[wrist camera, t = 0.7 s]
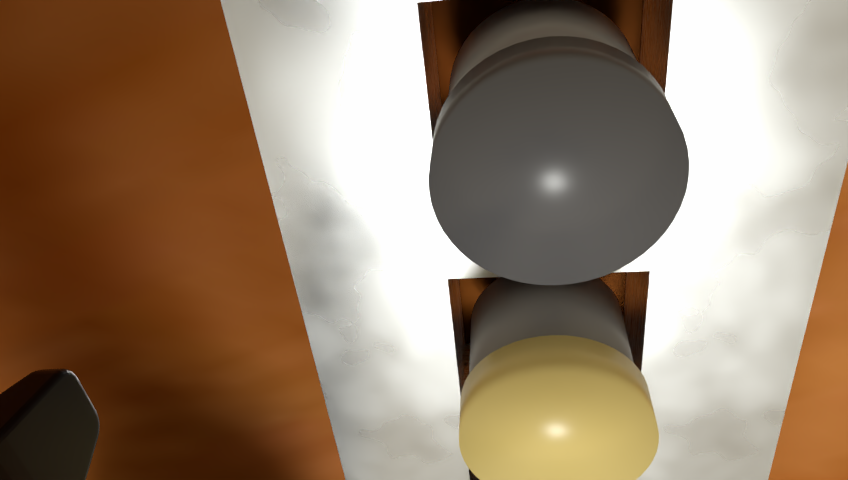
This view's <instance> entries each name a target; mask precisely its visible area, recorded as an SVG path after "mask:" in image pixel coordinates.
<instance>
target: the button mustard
mask: <svg viewBox="0 0 848 480" xmlns="http://www.w3.org/2000/svg"><path fill="white" fill-rule="evenodd" d="M658 444H659V431H658V426H657V422H656V417H655V413H654V409H653V405H652V401H651V397H650V393H649V389H648V385H647V383H646V380H645V378H644V376H643V374H642V373H641V371H640V370H639V368H638V367H637V366H636V365H635V364H634V362H633V358H632V354H631V349H630V345H629V341H628V336H627V332H626V328H625V323H624V319H623V315H622V310H621V306H620V304H619V301H618V299H617V297H616V296H615V294H614V292H613V291H612V290H611V289H610V288H609V287H608V286H607V285H606V284H605V283H604V282H603V281H602V280H600V279H599V278H596V279H592V280H589V281H585V282H579V283H574V284H565V285H536V284H528V283H523V282H518V281H514V280H510V279H507V278H504V277H500V278H498V279H496V280H495V281H494V282H493V283H491V284H490V285H489V286H488V287H487V288H486V289H485V290H484V291H483V292H482V294H481V295H480V296H479V297H478V299H477V301H476V303H475V305H474V308H473V311H472V316H471V333H470V366H469V375H468V377H467V379H466V380H465V383H464V385H463V388H462V392H461V398H460V421H459V447H460V452H461V455H462V457H463V459H464V462H465V463H466V465H467V466H468V468H469V469H470V470H471V471H472V473H473V474H474V475H475V476H476V477H477V478H478V479H480V480H636V479H637V478H639V477H640V476H641V475H642V474H643V473H644V472H645V471H646V469H647V468H648V467H649V466H650V464H651V463H652V461H653V459H654V457H655V455H656V452H657V449H658Z"/></svg>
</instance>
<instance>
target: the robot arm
mask: <svg viewBox="0 0 848 480" xmlns="http://www.w3.org/2000/svg"><path fill="white" fill-rule="evenodd" d="M99 427H100V426H99V418H98V414H97V412H96V410H95V408H94V406H93V405H92V403H91V401H90V399H89V397H88V396H87V394H86V392H85V390H84V388H83V387H82V385H81V383H80V381H79V379H78V378H77V376H76V375H75V374H74V373H73V372H72V371H70V370H67V369H48V370H38V371H35V372H32V373H30V374H29V375H27V376H26V377H24V378H23V379H22V380H20V381H19V382H17V383H16V384H14V385H13V386H11V387H10V388H8V389H7V390H6V391H4V392H3V393H1V394H0V480H86V477H87V473H88V470H89V466H90V463H91V459H92V456H93V453H94V449H95V446H96V442H97V439H98V435H99Z"/></svg>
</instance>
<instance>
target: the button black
mask: <svg viewBox="0 0 848 480" xmlns="http://www.w3.org/2000/svg"><path fill="white" fill-rule="evenodd" d="M688 180H689V154H688V147H687V143H686V140H685V137H684V133H683V131H682V129H681V127H680V125H679V122H678V120H677V118H676V116H675V114H674V112H673V110H672V108H671V106H670V104H669V102H668V100H667V98H666V96H665V94H664V92H663V90H662V88H661V87H660V85H659V84H658V82H657V81H656V80H655V78H654V77H653V76H652V75H651V74H650V73H649V71H648V70H647V69H646V68H645V67H644V66H643V65H641V64H640V63H639V62H638V61H637V60H636V58H635V56H634V53H633V51H632V49H631V47H630V45H629V43H628V41H627V39H626V37H625V36H624V34H623V33H622V32H621V30H620V29H619V28H618V27H617V26H616V25H615V23H614V22H613V21H612V20H611V19H609V18H608V17H607V16H605V15H604V14H603V13H602V12H600V11H598V10H596V9H595V8H593V7H591V6H589V5H586V4H584V3H582V2H579V1H575V0H523V1H519V2H516V3H513V4H511V5H508V6H506V7H504V8H502V9H500V10H498V11H497V12H495V13H493V14H492V15H490V16H489V17H488V18H486V19H485V20H484V21H482V22H481V23H480V24H479V25H478V26H477V27H476V28H475V29H474V30H473V31H472V32H471V34H470V35H469V36H468V38H467V39H466V40H465V41H464V43H463V45H462V47H461V48H460V50H459V52H458V54H457V57H456V59H455V61H454V64H453V68H452V72H451V78H450V86H449V95H448V98H447V99H446V101H445V103H444V104H443V107H442V109H441V112H440V114H439V116H438V119H437V123H436V127H435V130H434V136H433V143H432V151H431V158H430V166H429V175H428V181H429V194H430V199H431V205H432V208H433V210H434V213H435V216H436V219H437V221H438V223H439V224H440V226H441V228H442V230H443V232H444V233H445V234H446V236H447V237H448V239H449V240H450V241H451V243H452V244H453V245H454V246H455V247H456V248H457V249H458V250H459V251H460V252H461V253H462V254H463V255H465V256H466V257H467V258H468V259H470V260H471V261H472V262H474V263H475V264H477V265H479V266H480V267H482V268H483V269H485V270H487V271H490V272H492V273H494V274H496V275H498V276H501V277H504V278H507V279H510V280H514V281H518V282H523V283H528V284H536V285H565V284H574V283H579V282H585V281H589V280H592V279H596V278H599V277H602V276H605V275H607V274H610V273H612V272H614V271H617V270H619V269H621V268H622V267H624V266H626V265H628V264H630V263H631V262H633V261H634V260H636V259H637V258H639V257H640V256H641V255H643V254H644V253H645V252H646V251H648V250H649V249H650V248H651V247H652V246H653V245H654V244H655V243H656V242H657V241H658V240H659V239H660V238H661V237H662V236H663V235H664V233H665V232H666V231H667V229H668V228H669V227H670V225H671V224H672V222H673V221H674V219H675V217H676V215H677V213H678V211H679V209H680V208H681V205H682V202H683V200H684V197H685V194H686V190H687V185H688Z"/></svg>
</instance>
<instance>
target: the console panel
mask: <svg viewBox="0 0 848 480" xmlns="http://www.w3.org/2000/svg"><path fill="white" fill-rule="evenodd" d="M431 1H441V0H221V4H222V8H223V11H224V15H225V19H226V23H227V27H228V31H229V34H230V38H231V42H232V46H233V50H234V54H235V57H236V61H237V65H238V69H239V73H240V77H241V80H242V84H243V88H244V92H245V96H246V100H247V103H248V107H249V111H250V115H251V119H252V123H253V126H254V130H255V134H256V138H257V142H258V146H259V149H260V153H261V157H262V161H263V165H264V169H265V172H266V176H267V180H268V184H269V188H270V192H271V195H272V199H273V203H274V207H275V211H276V215H277V218H278V222H279V226H280V230H281V234H282V238H283V241H284V245H285V249H286V253H287V257H288V261H289V264H290V268H291V272H292V276H293V280H294V284H295V287H296V291H297V295H298V299H299V303H300V306H301V310H302V314H303V318H304V322H305V326H306V329H307V333H308V337H309V341H310V345H311V349H312V352H313V356H314V360H315V364H316V368H317V372H318V375H319V379H320V383H321V387H322V391H323V395H324V398H325V402H326V406H327V410H328V414H329V418H330V421H331V425H332V429H333V433H334V437H335V441H336V444H337V448H338V452H339V456H340V460H341V464H342V467H343V471H344V475H345V479H346V480H479V479H478V478H477V477H476V476H475V475H474V474H473V473H472V471H471V470H470V469H469V468H468V466H467V465H466V463H465V462H464V459H463V457H462V455H461V452H460V447H459V421H460V398H461V392H462V388H463V385H464V383H465V380H466V379H467V377H468V375H469V366H470V344H465V336H464V326H463V316H462V306H461V296H460V286H459V279H461V278H487V277H501V276H498V275H496V274H494V273H492V272H490V271H487V270H485V269H483V268H482V267H480V266H479V265H477V264H475V263H474V262H472V261H471V260H470V259H468V258H467V257H466V256H465V255H463V254H462V253H461V252H460V251H459V250H458V249H457V248H456V247H455V246H454V245H453V244H452V243H451V241H450V240H449V239H448V237H447V236H446V234H445V233H444V232H443V230H442V228H441V226H440V224H439V223H438V221H437V219H436V216H435V213H434V210H433V208H432V205H431V199H430V194H429V181H428V175H429V166H430V158H431V151H432V143H433V136H434V130H435V127H436V123H437V119H438V116H439V114H440V112H441V109H442V106H441V96H440V86H439V76H438V66H437V56H436V46H435V36H434V26H433V16H432V6H431ZM640 64H641V65H643V66H644V67H645V68H646V69H647V70H648V71H649V73H650V74H651V75H652V76H653V77H654V78H655V80H656V81H657V82H658V84H659V85H660V87H661V88H662V90H663V92H664V94H665V96H666V98H667V100H668V102H669V104H670V106H671V108H672V110H673V112H674V114H675V116H676V118H677V120H678V122H679V125H680V127H681V129H682V131H683V133H684V137H685V140H686V143H687V147H688V154H689V180H688V185H687V190H686V194H685V197H684V200H683V202H682V205H681V208H680V209H679V211H678V213H677V215H676V217H675V219H674V221H673V222H672V224H671V225H670V227H669V228H668V229H667V231H666V232H665V233H664V235H663V236H662V237H661V238H660V239H659V240H658V241H657V242H656V243H655V244H654V245H653V246H652V247H651V248H650V249H649V250H648V251H646V252H645V253H644V254H643V255H641V256H640V257H639V258H637V259H636V260H634V261H633V262H631V263H630V264H628V265H626V266H624V267H622V268H621V269H619V270H617V271H614V272H626V286H625V301H624V317H623V319H624V323H625V328H626V332H627V336H628V341H629V345H630V349H631V354H632V358H633V362H634V364H635V365H636V366H637V367H638V368H639V370H640V371H641V373H642V374H643V376H644V378H645V380H646V383H647V385H648V389H649V393H650V397H651V401H652V405H653V409H654V413H655V417H656V422H657V426H658V431H659V444H658V449H657V452H656V455H655V457H654V459H653V461H652V463H651V464H650V466H649V467H648V468H647V469H646V471H645V472H644V473H643V474H642V475H641V476H640V477H639V478H637V479H636V480H768V477H769V473H770V469H771V466H772V462H773V458H774V454H775V450H776V446H777V442H778V438H779V434H780V430H781V426H782V422H783V418H784V414H785V410H786V406H787V402H788V398H789V394H790V390H791V386H792V382H793V378H794V374H795V370H796V366H797V362H798V358H799V354H800V350H801V346H802V342H803V338H804V334H805V330H806V326H807V322H808V318H809V314H810V310H811V306H812V302H813V298H814V294H815V290H816V286H817V282H818V278H819V274H820V270H821V266H822V262H823V258H824V254H825V250H826V246H827V242H828V238H829V234H830V230H831V226H832V222H833V218H834V214H835V210H836V206H837V202H838V198H839V194H840V190H841V186H842V182H843V178H844V174H845V170H846V166H847V162H848V0H643V16H642V32H641V48H640ZM612 273H613V272H612Z"/></svg>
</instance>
